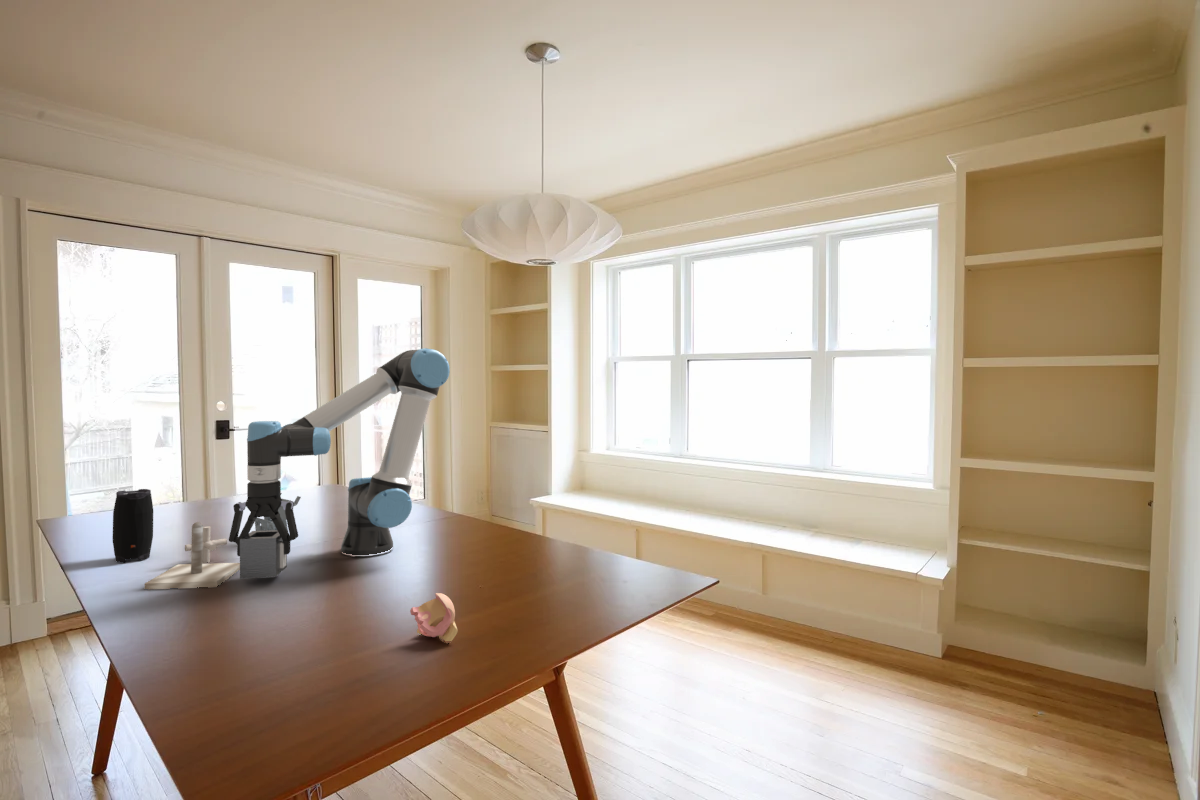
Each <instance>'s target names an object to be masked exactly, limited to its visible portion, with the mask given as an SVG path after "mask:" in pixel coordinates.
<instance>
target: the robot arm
mask: <svg viewBox="0 0 1200 800" xmlns="http://www.w3.org/2000/svg"><path fill="white" fill-rule="evenodd" d="M450 368H451V367H450V363H449V361H448V359H447V358H446V356H445V355H444V354H443V353H442V352H440V351H439V350H436V349H432V348H427V347H425V348H424V347H423V348H420V349H410V350H405V351H403V352H401V353H400V354H398V355H397V356H394V357H393V358H391V359H390V360H389V361H387V362H385V363H384V364H382V365H381V366H379V367H378V368H377V369H376V372H375V374H372V375H370V376H369V377H367V378H366V379H365V380H364V379H363V381H361V382H359V383H358V384H356V385H355V386H352V387H350V388H349V389H348V390H346V391H345V392H342V393H341V394H340V395H338V396H336V397H334V398H332V399H331V400H329V401H328V402H325V403H324V404H322V405H321V406H319V407H318V408H316V409H315V410H312V411H311V412H310V413H308V414H305V415H304V416H303V417H301V418H299V419H297V420H296V421H294V422H293V423H288V424H285V425H283V426H282V424H281V422H280V421H278V420H277V421H276V420H275V421H274V420H262V421H260V420H259V421H258V420H257V421H253V422H250V423H249V424H248V426H247V438H246V443H247V445H246V446H247V452H246V453H247V454H246V455H247V474H246V475H247V481H248V483H247V487H246V488H247V493H246V494H247V498H246V501H244V502H241V501H239V502H236V503H234V504H233V511H234V514H233V518H232V519H233V520H232V523H231V528H230V533H229V537H228V542H230V543H235V544H236V547H237V548H236V549H237V551H236V556H237V557H240V539H241V538H242V537H244V536H246V535H247V534H249V533H250V532H251V530H252V528H253V526H254V525H255V520H256V518H262V517H263V518H264V517H270V519H271V520H272V521H273V523H274V525H275V527H276V528H277V530H278V532H279V534H280V536H281V538H282V540H283V541H282V542H281V543H280V568H284V567H285V566H286V554H287V555H289V554H290V553H291V542H292V541H295V540H296V539H297V538H298V537H299V531H298V528H297V523H296V518H295V514H294V507H295V506H294V501H293V500H291V501H290V502H286V501H282V499H283V498H282V494H281V493H282V490H281V488H282V487H281V484H282V483H281V480H280V479H281V477H282V476H281V474H282V473H281V471H282V470H281V467H282V466H281V462H282V458H285V457H287V458H288V457H302V456H303V457H304V456H314V457H315V456H316V457H317V456H318V455H326V454H327V453H329V451H330V448H331V444H332V443H331V442H332V440H331V434H330V433H331V431H332V430H334V429H336V428H337V427H340V426H341V425H342V424H344V423H345V422H347V421H348V420H351V419H352V418H353V417H355V416H357V415H358V414H359V413H361V412H363V411H364V410H366V409H368V408H369V407H371V406H373V405H374V404H376V403H378V402H379V401H381V400H382V399H383V398H385V397H387V396H389V395H390V394H392V395H397V393H399V392H401V395H400V397H399V402H398V405H397V409H396V412H395V415H394V419H393V423H392V424H391V425H392V426H391V429H390V432H389V436H388V439H387V443H386V447H385V451H384V454H383V457H382V460H381V463H380V467H379V470H378V472H376V473H375V474H373V475H371V476H369V477H356V478H351V479H350V480H349V483H348V489H347V491H348V492H347V494H348V498H347V499H348V502H347V505H348V507H347V529H346V531H345V534H344V537H343V538H342V539H343V540H342V542H341V545H340V553H341V552H343V553H346V554H352V555H369V554H377V553H381V552H385V551H388V550H390V549H391V548H392V547H393V548H394V541H393V538H392V534H391V530H390V529H391V528H396V527H398V526H400V525H402V524H403V523H404V522H405V521H406V520H407V519H408V518H409V517H410V514H411V513H412V508H413V501H412V499H411V496H410V493H411V489H412V486H413V485H412V482H411V481H410V479H409V478H410V474H411V471H412V467H413V462H414V459H415V456H416V452H417V449H418V445H419V442H420V439H421V435H422V432H423V428H424V423H425V421H426V417H427V415H428V410H429V407H430V403H431V401H432V400H435V399H436V398H437V397H438V393H439V390H440V387H442V386H443V385H444V384H445V383H446V382H447V381H448V379H449V377H450ZM280 506H283V509H284V510H285V515H286V522H287V527H288V531H287V529H286V527H285V525H284V523H283V521H282V519H281V517H280V514H279V512H278V509H279V508H280ZM293 506H294V507H293ZM246 508H247V510H248V511H250V513H249V515H248V517H247V520H246V522H245V524H244V526H243V528H242V530H241V531H240V528H241V524H242V519H243V514H244V511H245V509H246ZM239 532H240V533H239Z"/></svg>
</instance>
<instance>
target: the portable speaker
mask: <svg viewBox="0 0 1200 800" xmlns="http://www.w3.org/2000/svg"><path fill="white" fill-rule="evenodd" d="M151 491H152V490H151V489H148V488H141V489H140V488H139V489H138V490H118V491H117V492H116V493H115V496H116V497H115V501H114V506H113V511H112V545H113V546H112V547H113V553H114V557H115V559H114V560H115V562H116V561H117V562H116V563H122V562H123V563H126V561H127V560H135V559H137V561H139V562H140V561H143V560H148V559H149V558H150V556H151V550H152V545H153V539H154V507H153V506H154V505H153V498H152V492H151Z"/></svg>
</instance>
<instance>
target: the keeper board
mask: <svg viewBox="0 0 1200 800" xmlns="http://www.w3.org/2000/svg"><path fill="white" fill-rule="evenodd" d="M191 525H192V526H191V544H192V547H191V555H190V557H191V558H190V560H191V561H190V562H191V563H183V564H181V563H180V564H179V563H177V564H176V565H175V566H172V567H170V568H169V569H167V570H166V571H164V572H162V573H160V574H159V575H157V576H155V577H154V578H152V579H149V580H148V581H146V582H145V583H144V588H143V589H148V590H167V589H168V590H170V588H178V589H199V587H208V588H218V587H219V586H220V585H222V584H223V583H225V582H226V581H227V580H228V579H230V578H231V577H232V575H233V574H234V573H235V574H237V573H236V572H237V571H238V570H239V571H240V562H224V563H223V562H222V563H221V562H220V563H215V562H214V563H202V553H203V527H204V525H203V523H202V522H200V521H195V522H193V524H191ZM239 571H238V572H239ZM235 574H234V575H235ZM234 575H233V576H234ZM230 576H231V577H230ZM229 577H230V578H229ZM225 580H226V581H225ZM222 582H223V583H222ZM221 583H222V584H221ZM218 585H219V586H218ZM217 586H218V587H217ZM197 587H198V588H197Z"/></svg>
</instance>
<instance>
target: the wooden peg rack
mask: <svg viewBox="0 0 1200 800" xmlns="http://www.w3.org/2000/svg"><path fill="white" fill-rule="evenodd" d="M227 544H228V539H227V538H226V537H225V538H220V539H213V540H211V526H203V553H202V564H208V563H210V561H211V551H212V552H213V551H216V550H217V547H219V546H225V545H227ZM191 547H192V543H188V544H184V551H185V552H190V551H191ZM207 562H208V563H207Z"/></svg>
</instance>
